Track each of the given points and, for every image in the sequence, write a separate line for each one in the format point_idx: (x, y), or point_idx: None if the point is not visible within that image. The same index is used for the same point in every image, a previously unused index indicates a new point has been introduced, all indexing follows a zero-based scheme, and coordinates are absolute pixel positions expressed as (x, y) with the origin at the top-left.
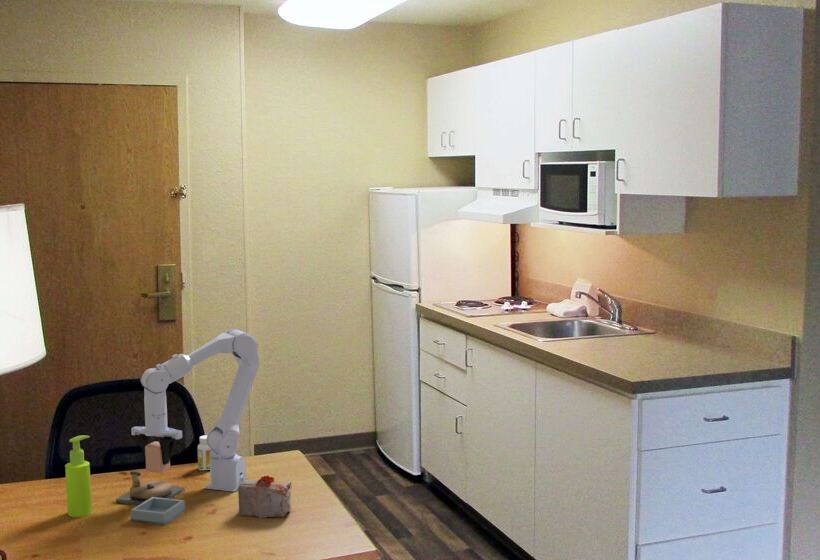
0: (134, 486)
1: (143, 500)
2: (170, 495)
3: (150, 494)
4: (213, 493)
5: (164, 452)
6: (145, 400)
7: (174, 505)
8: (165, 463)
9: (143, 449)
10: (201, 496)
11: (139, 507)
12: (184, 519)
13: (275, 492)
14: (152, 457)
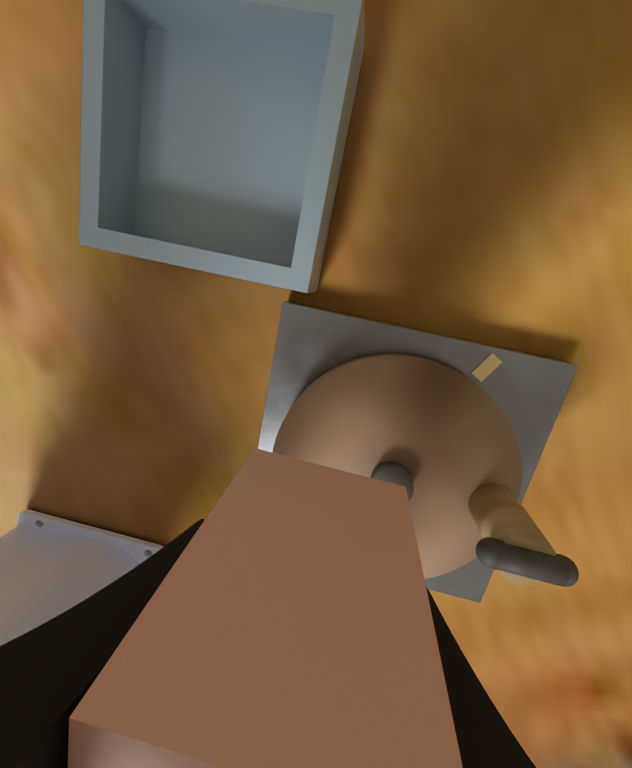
0: (499, 485)
1: (391, 348)
2: (266, 428)
3: (349, 366)
4: (106, 495)
5: (80, 618)
6: None
7: (95, 140)
8: (191, 529)
9: (507, 763)
10: (141, 459)
11: (323, 81)
12: (76, 133)
13: None
14: (312, 572)
